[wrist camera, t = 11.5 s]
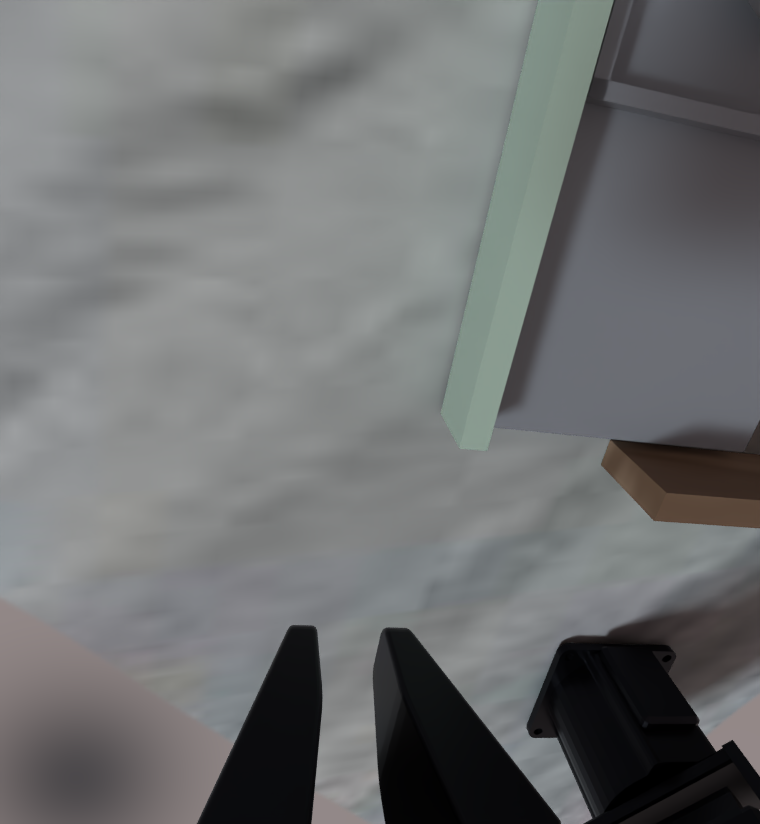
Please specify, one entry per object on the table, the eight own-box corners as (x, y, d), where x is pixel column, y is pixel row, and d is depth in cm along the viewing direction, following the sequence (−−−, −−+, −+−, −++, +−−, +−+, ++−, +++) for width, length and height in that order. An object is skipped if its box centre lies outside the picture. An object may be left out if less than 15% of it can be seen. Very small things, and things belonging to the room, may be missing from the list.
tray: (730, 443, 24) (780, 477, 22) (440, 413, 22) (459, 448, 19) (1067, -266, 15) (1217, -344, 13) (644, -451, 13) (727, -593, 10)
